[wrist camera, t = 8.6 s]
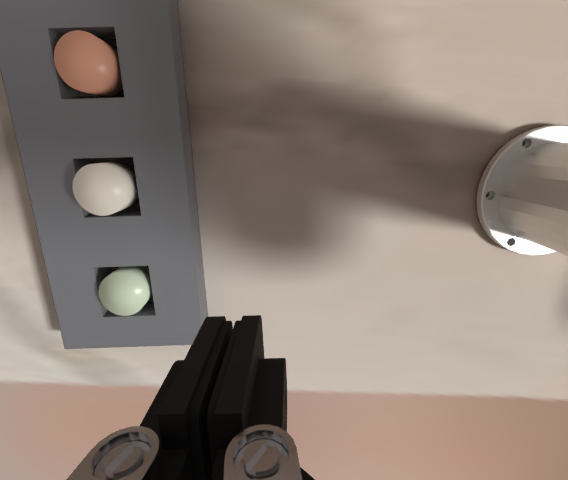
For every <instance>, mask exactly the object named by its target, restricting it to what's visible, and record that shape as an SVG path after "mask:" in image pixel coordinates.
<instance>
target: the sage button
mask: <svg viewBox="0 0 568 480" xmlns="http://www.w3.org/2000/svg"><path fill="white" fill-rule="evenodd" d="M98 293H99V298H100V301H101V303H102V304H103V306H104V307H105V308H106V309H107V310H109V311H110V312H112V313H114V314H116V315H121V316H129V315H133V314H135V313H137V312H138V311H140V310H141V309H142V307H143V306H144V305H145V304H146V303H147V301H148V300H149V299H150V298H151V297H152V295H153V294H152V287H151V280H150V273H149V268H147V267H146V266H125V267H119V268H117V269H116V270H115V271H113V272H112V273H111V274H110V275H108V276H107V277H106V278H104V279H103V281H102V282H101V284H100V286H99V292H98Z"/></svg>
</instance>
